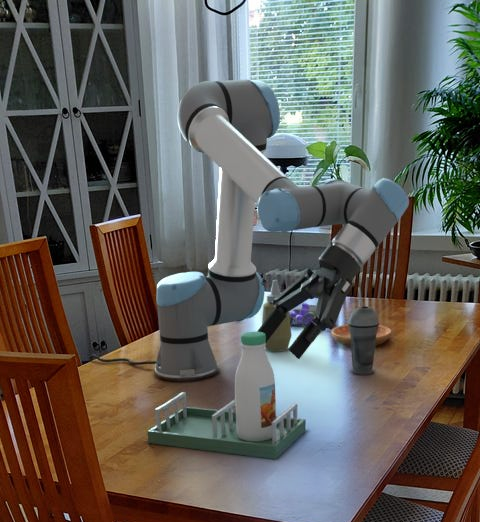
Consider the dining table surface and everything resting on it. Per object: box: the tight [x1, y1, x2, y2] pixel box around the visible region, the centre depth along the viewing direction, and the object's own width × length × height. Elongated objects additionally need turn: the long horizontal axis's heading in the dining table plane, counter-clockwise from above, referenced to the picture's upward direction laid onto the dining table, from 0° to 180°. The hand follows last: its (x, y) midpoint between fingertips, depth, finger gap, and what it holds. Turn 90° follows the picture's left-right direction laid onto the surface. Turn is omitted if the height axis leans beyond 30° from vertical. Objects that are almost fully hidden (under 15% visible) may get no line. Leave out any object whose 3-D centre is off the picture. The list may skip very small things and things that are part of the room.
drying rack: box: [147, 391, 307, 460], centre depth 171 cm, size 27×16×6 cm, turn 66°
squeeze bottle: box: [261, 279, 293, 352], centre depth 227 cm, size 8×8×18 cm
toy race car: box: [289, 302, 330, 328], centre depth 254 cm, size 10×15×6 cm, turn 54°
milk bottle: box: [234, 331, 277, 441], centre depth 165 cm, size 8×8×20 cm
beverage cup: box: [347, 286, 380, 376], centre depth 204 cm, size 7×7×20 cm
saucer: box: [331, 323, 392, 347], centre depth 234 cm, size 16×16×3 cm
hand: (276, 346), depth 164 cm, fingers open, 13 cm apart
